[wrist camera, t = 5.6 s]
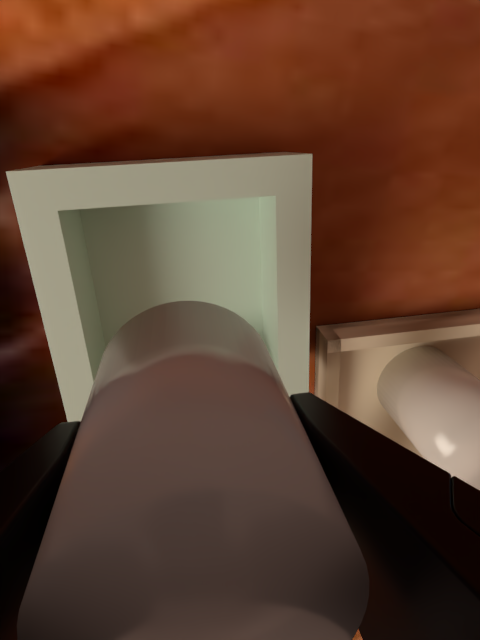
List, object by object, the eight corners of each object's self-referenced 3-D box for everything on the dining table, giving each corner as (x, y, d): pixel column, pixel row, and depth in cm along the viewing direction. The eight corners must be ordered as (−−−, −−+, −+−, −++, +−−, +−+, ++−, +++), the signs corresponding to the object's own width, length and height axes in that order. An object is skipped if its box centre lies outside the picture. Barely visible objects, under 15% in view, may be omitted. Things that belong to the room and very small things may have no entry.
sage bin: (285, 151, 17) (312, 153, 13) (286, 360, 20) (308, 400, 17) (39, 165, 16) (5, 171, 12) (87, 383, 19) (70, 430, 16)
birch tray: (513, 305, 21) (539, 317, 19) (473, 492, 26) (491, 513, 24) (316, 326, 20) (327, 340, 18) (311, 518, 24) (320, 541, 23)
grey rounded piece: (269, 292, 9) (382, 462, 4) (273, 439, 11) (359, 691, 6) (82, 310, 9) (-34, 524, 4) (113, 461, 10) (60, 755, 5)
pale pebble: (458, 341, 21) (550, 405, 16) (447, 410, 22) (527, 488, 17) (380, 350, 20) (449, 419, 15) (373, 420, 22) (434, 504, 17)
